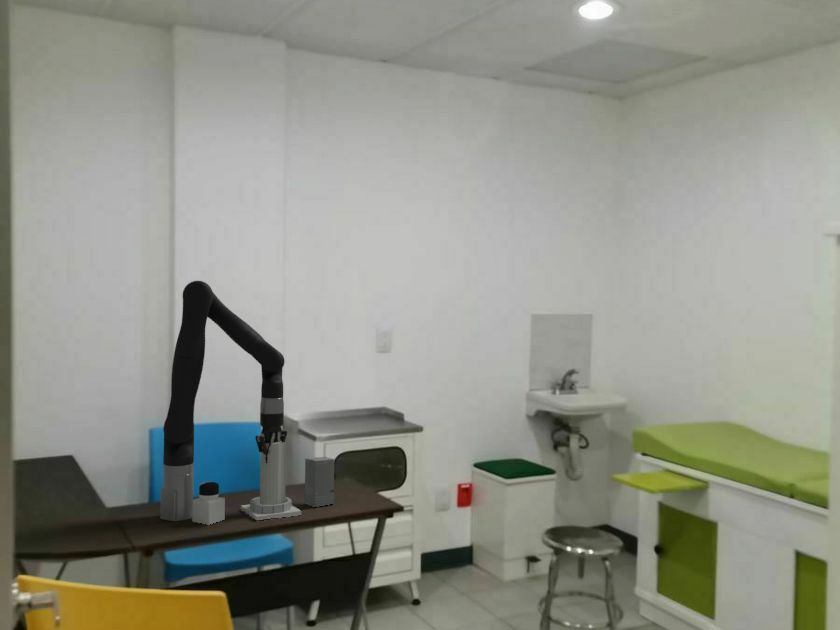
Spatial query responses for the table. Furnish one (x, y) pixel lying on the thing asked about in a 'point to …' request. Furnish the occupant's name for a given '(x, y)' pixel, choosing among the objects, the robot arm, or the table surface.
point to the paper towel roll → (273, 475)
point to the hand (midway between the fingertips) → (271, 463)
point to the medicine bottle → (208, 504)
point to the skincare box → (319, 481)
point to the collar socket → (270, 509)
